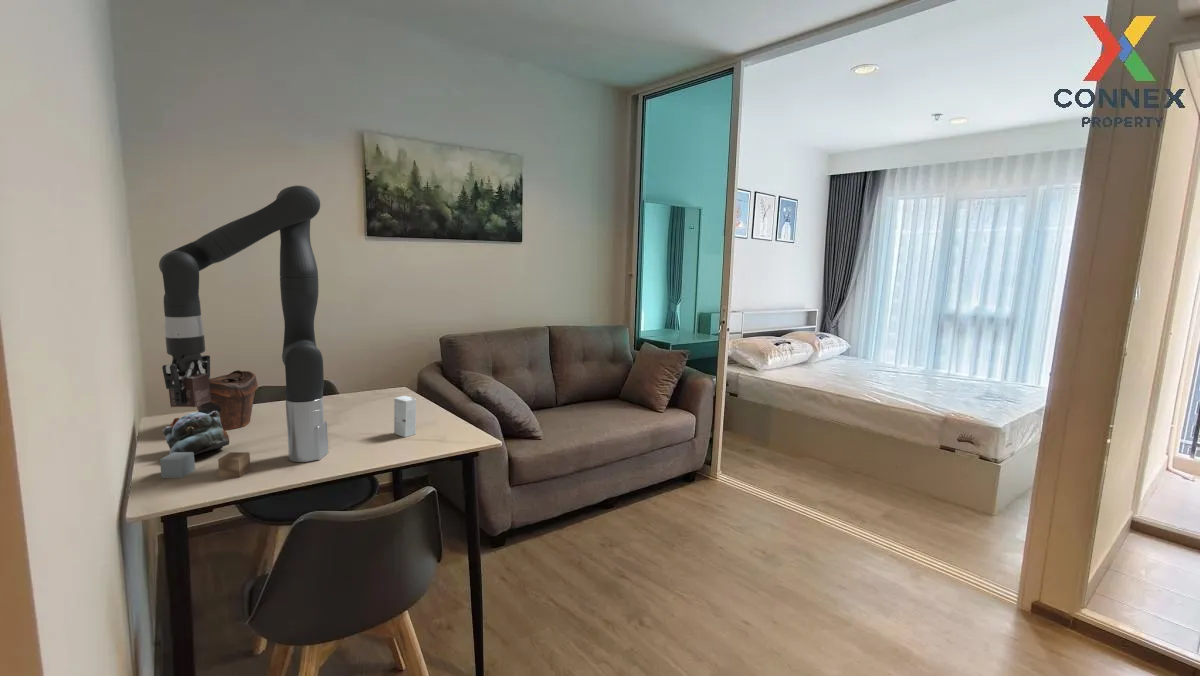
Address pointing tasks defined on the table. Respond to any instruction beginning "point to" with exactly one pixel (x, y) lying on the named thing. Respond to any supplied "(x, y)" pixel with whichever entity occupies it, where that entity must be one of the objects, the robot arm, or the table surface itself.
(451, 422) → the table surface
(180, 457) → the grey block
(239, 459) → the walnut block
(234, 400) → the brown wooden container
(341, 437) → the table surface
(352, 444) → the table surface
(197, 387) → the box
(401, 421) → the skincare box
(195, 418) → the grey-blue rounded figure
